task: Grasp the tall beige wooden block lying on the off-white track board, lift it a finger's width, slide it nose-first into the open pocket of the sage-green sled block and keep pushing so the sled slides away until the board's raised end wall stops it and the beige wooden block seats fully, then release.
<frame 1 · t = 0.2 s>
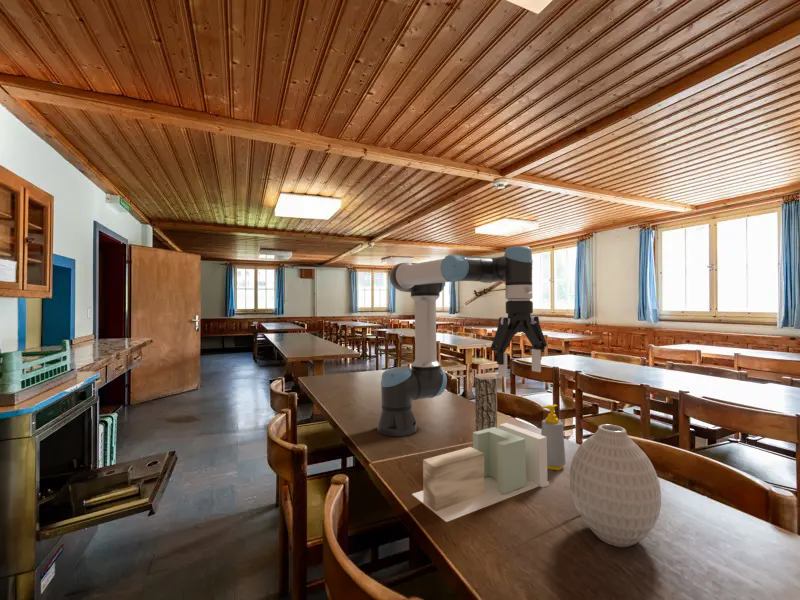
hand: (520, 373, 107), 28 cm above the table, fingers open, 13 cm apart
vase: (614, 537, 76), on the table
track: (482, 491, 95), on the table
bark log: (486, 454, 119), on the table
soap bottle: (552, 466, 109), on the table
socket block: (498, 458, 98), point 7 cm above the table, slide at 0.0 cm
beige wooden block: (454, 497, 90), point 1 cm above the table, touching track
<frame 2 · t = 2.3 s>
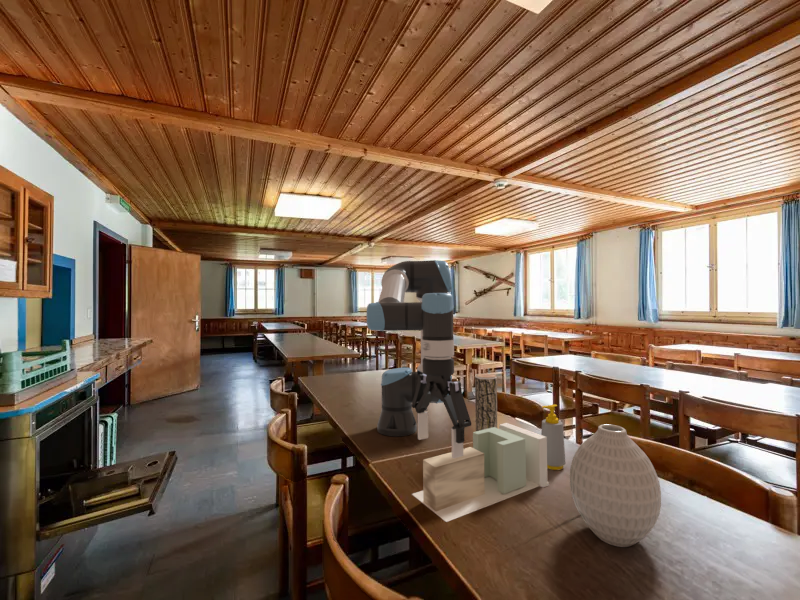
hand: (439, 447, 88), 14 cm above the table, fingers open, 13 cm apart
nothing on the table moved.
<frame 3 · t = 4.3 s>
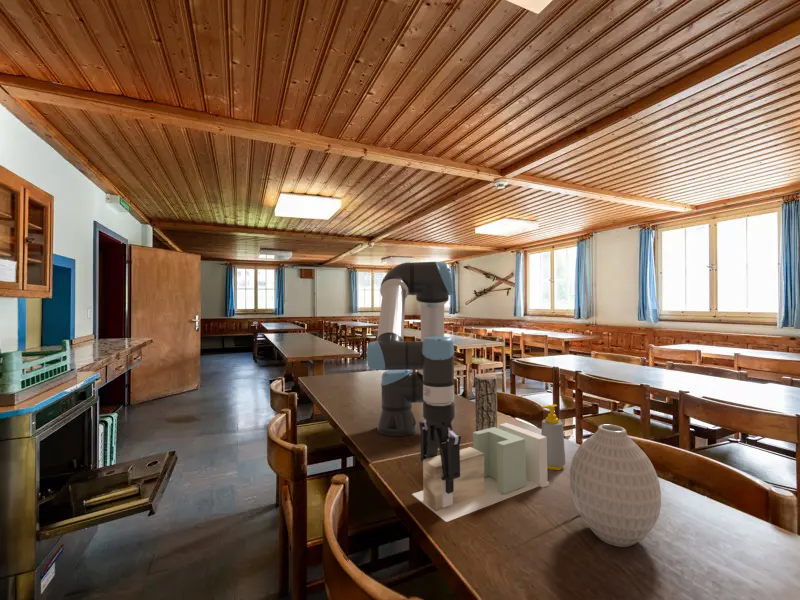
hand: (439, 499, 88), 2 cm above the table, fingers closed on beige wooden block, 5 cm apart
beige wooden block: (454, 497, 90), point 1 cm above the table, touching gripper, track
everything else where it was.
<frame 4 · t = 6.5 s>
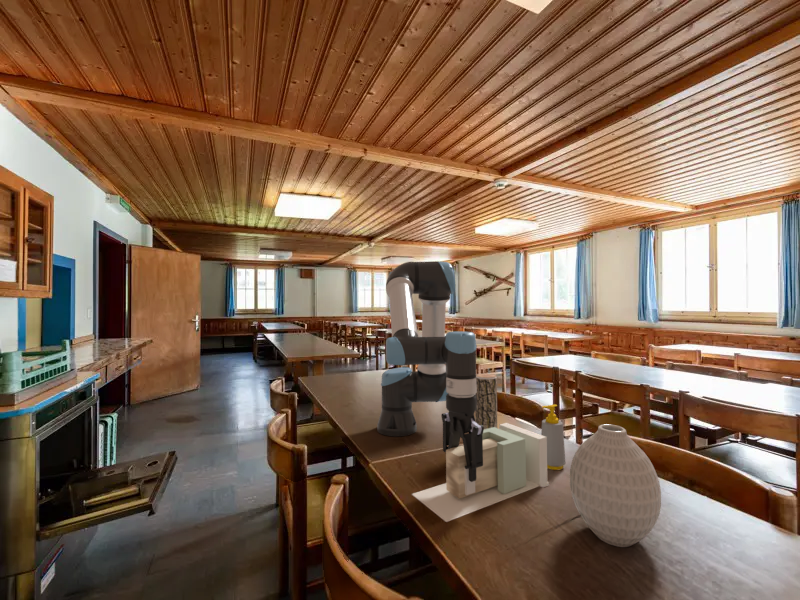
hand: (462, 487, 92), 2 cm above the table, fingers closed on beige wooden block, 5 cm apart
beige wooden block: (476, 486, 94), point 2 cm above the table, touching gripper
everything else where it was.
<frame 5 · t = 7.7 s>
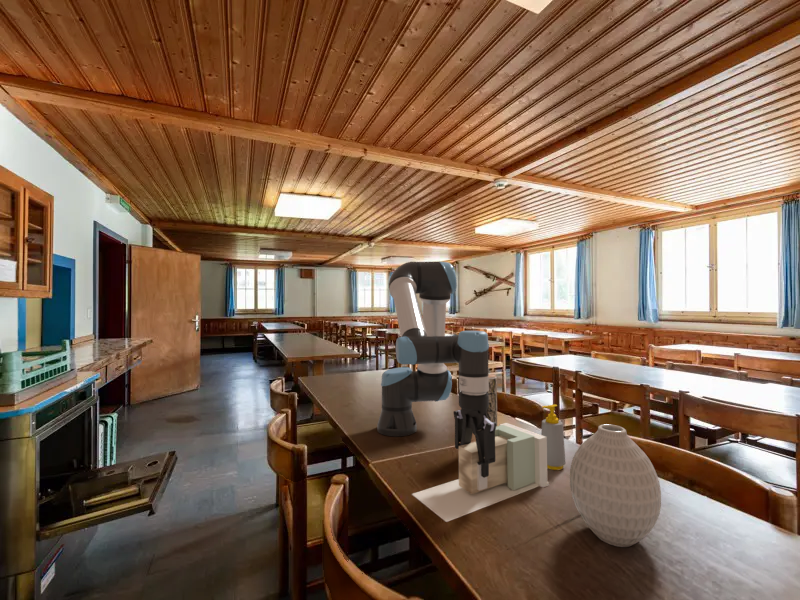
hand: (474, 483, 94), 3 cm above the table, fingers closed on beige wooden block, 5 cm apart
socket block: (508, 455, 100), point 7 cm above the table, slide at 3.5 cm, touching beige wooden block
beige wooden block: (487, 482, 96), point 2 cm above the table, touching gripper, socket block
everything else where it was.
when the fingers open (3 cm above the table, at t = 8.5 s): beige wooden block stays where it is, resting on track.
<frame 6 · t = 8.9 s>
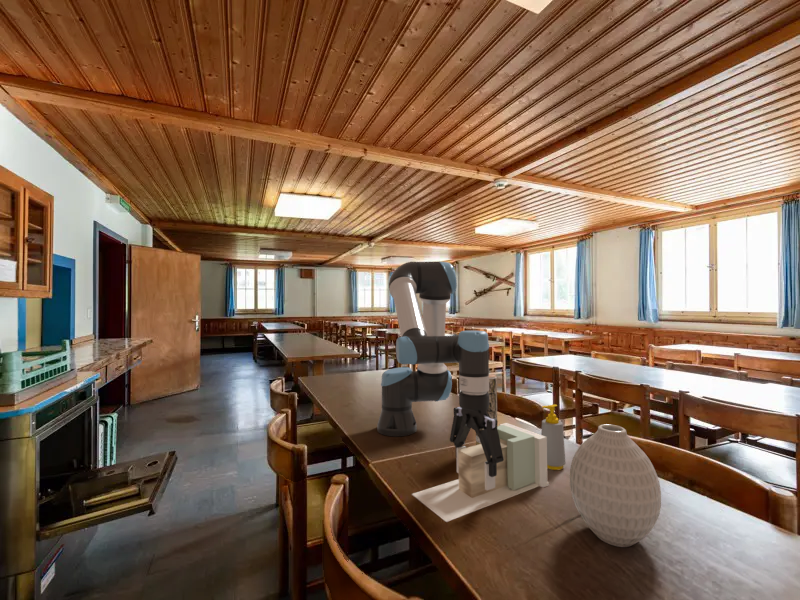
hand: (475, 479, 94), 3 cm above the table, fingers open, 10 cm apart
socket block: (508, 455, 100), point 7 cm above the table, slide at 3.5 cm
beige wooden block: (487, 485, 96), point 1 cm above the table, touching track
everything else where it was.
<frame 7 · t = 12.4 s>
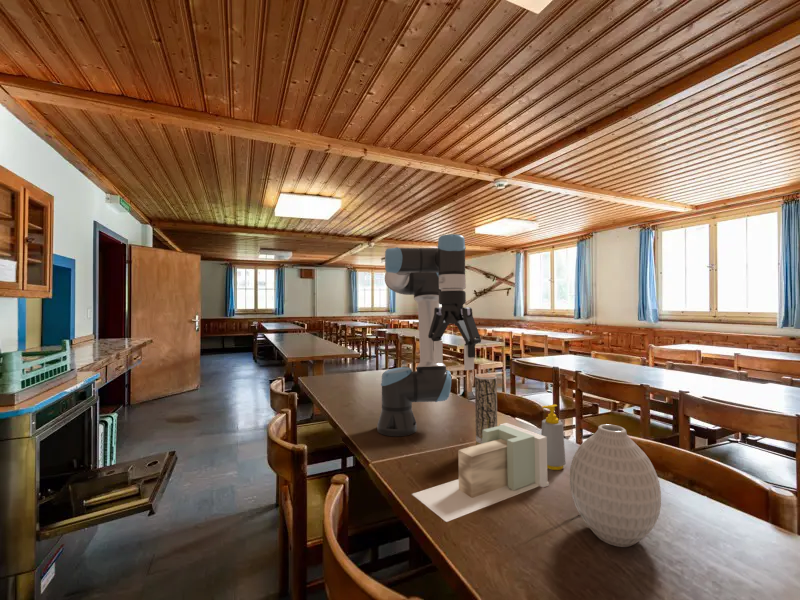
hand: (452, 366, 103), 31 cm above the table, fingers open, 13 cm apart
nothing on the table moved.
at the end: socket block slide at 3.5 cm; beige wooden block 0.1 cm from the target spot on the table beside the socket block, point 0.8 cm above the table; the gripper is holding nothing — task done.
